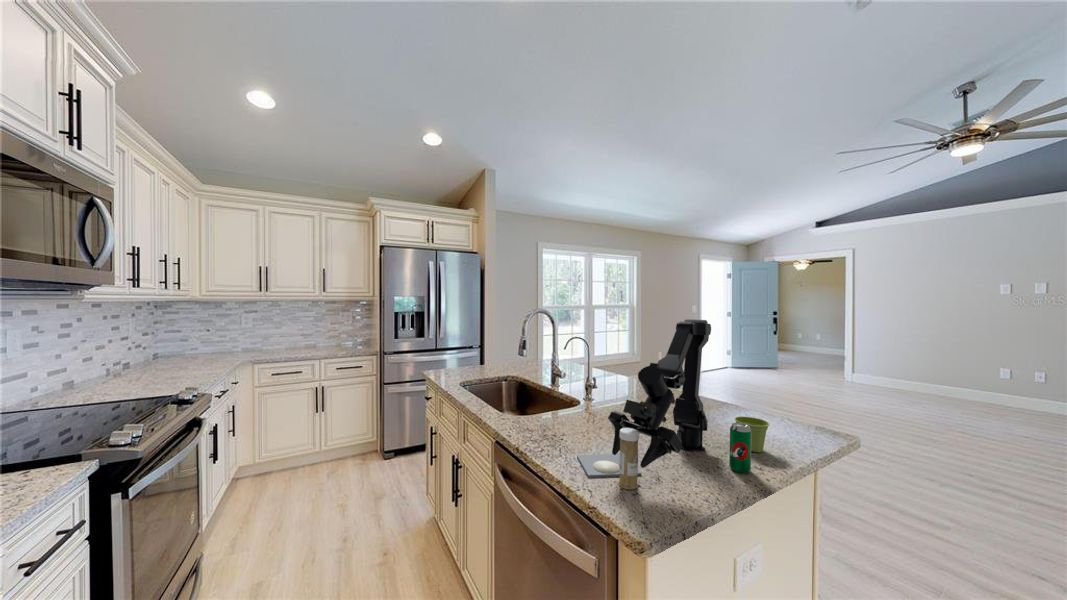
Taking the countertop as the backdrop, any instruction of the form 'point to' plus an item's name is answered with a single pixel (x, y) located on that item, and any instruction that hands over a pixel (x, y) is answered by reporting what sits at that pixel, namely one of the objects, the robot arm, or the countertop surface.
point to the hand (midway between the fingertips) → (626, 460)
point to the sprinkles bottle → (628, 458)
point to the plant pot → (755, 431)
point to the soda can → (740, 448)
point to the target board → (601, 465)
